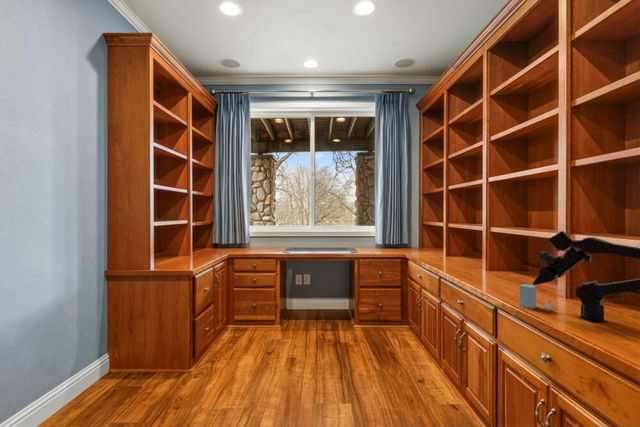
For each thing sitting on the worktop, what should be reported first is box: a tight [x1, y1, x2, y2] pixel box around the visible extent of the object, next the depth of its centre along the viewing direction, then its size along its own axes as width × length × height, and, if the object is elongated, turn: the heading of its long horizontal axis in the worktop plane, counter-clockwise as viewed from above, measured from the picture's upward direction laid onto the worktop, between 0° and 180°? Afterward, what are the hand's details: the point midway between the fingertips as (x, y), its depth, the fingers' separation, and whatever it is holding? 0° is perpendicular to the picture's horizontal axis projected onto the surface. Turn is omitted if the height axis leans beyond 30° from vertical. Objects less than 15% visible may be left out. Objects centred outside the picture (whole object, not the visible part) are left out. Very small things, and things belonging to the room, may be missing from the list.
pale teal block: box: [519, 283, 538, 310], centre depth 143 cm, size 5×5×9 cm
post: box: [543, 300, 553, 313], centre depth 137 cm, size 3×3×4 cm
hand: (536, 282), depth 140 cm, fingers open, 9 cm apart
